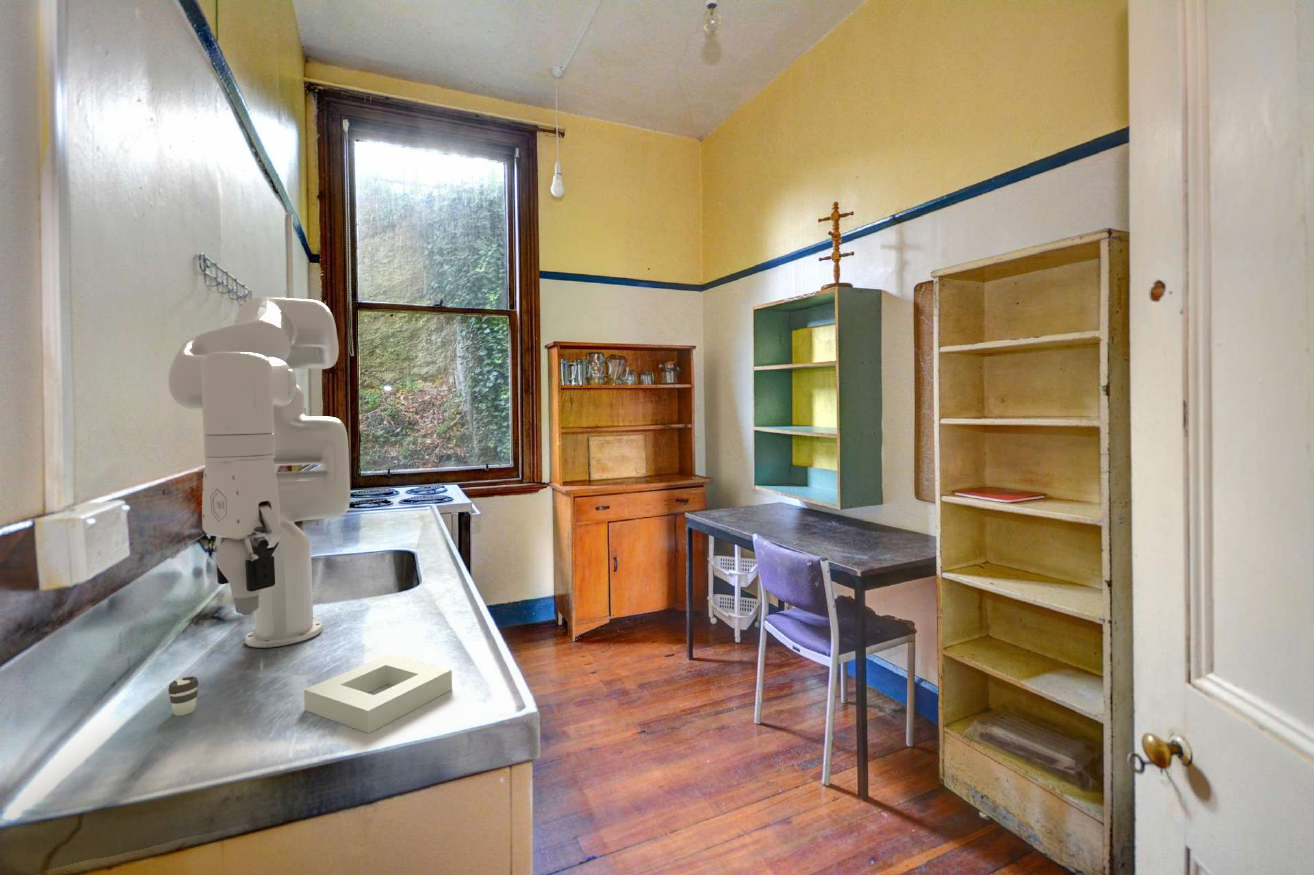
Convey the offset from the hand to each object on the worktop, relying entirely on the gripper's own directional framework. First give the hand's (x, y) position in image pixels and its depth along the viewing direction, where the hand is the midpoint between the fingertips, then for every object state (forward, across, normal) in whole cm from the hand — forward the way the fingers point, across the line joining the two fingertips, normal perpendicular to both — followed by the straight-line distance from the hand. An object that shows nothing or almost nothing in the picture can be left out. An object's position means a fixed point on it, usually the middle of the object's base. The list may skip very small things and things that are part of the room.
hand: (246, 583), depth 77 cm
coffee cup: (+21, -15, -1) cm, 26 cm away
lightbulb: (+4, 0, 0) cm, 4 cm away
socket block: (+20, +8, +14) cm, 25 cm away
